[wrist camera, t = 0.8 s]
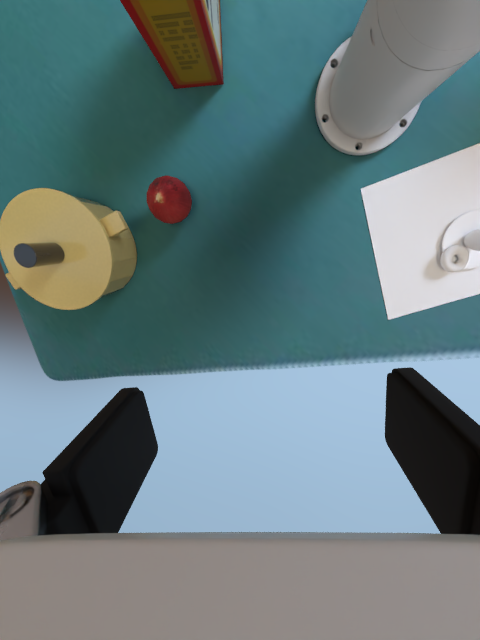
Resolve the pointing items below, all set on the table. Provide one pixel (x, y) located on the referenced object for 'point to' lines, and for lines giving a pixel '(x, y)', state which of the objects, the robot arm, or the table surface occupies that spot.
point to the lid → (56, 249)
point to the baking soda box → (182, 38)
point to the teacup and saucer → (427, 232)
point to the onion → (169, 199)
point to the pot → (120, 245)
